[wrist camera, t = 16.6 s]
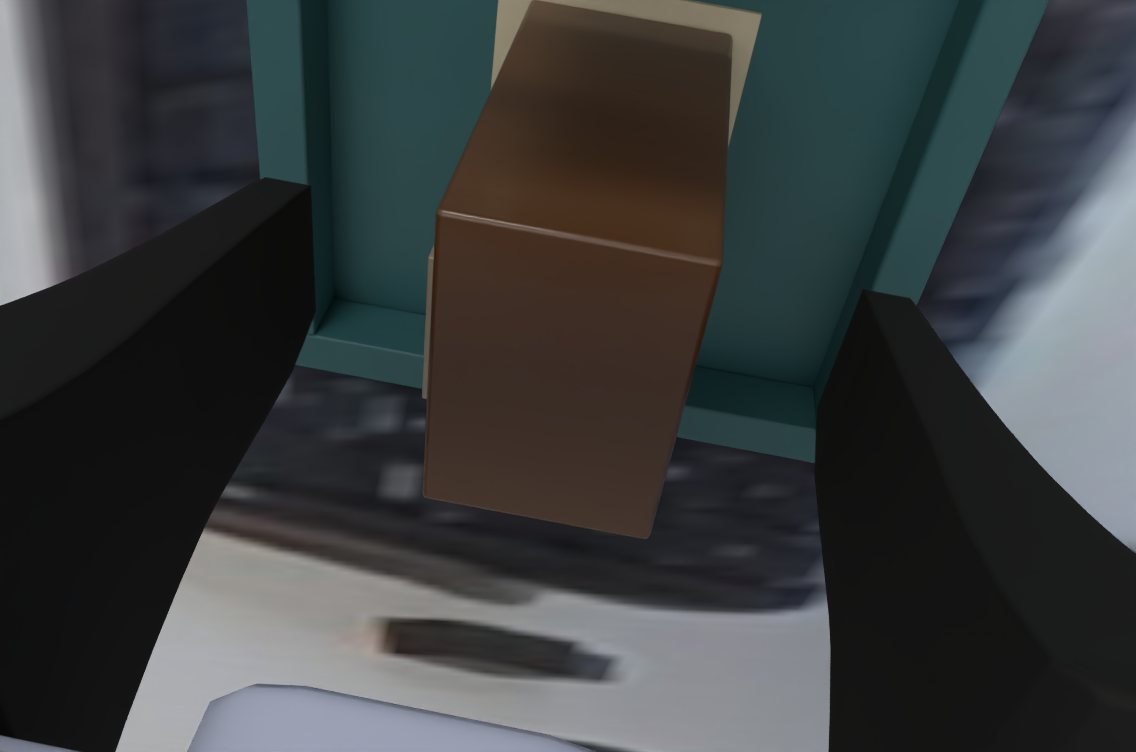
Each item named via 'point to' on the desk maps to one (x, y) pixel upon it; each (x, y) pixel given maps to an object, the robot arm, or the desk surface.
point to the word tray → (753, 190)
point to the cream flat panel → (654, 3)
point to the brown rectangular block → (577, 270)
